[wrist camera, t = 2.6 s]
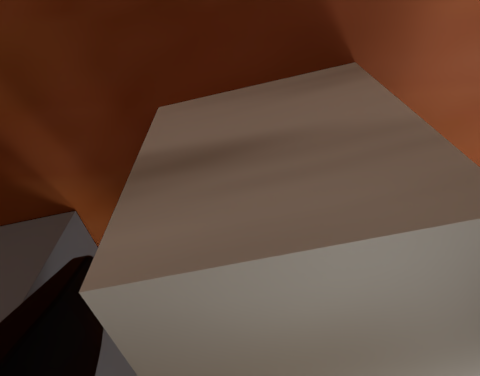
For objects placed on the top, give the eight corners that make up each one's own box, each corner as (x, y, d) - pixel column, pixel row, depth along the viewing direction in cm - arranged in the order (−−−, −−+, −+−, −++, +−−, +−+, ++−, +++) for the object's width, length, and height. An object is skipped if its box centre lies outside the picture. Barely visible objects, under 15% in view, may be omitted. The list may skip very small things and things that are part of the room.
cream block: (360, 218, 11) (466, 426, 6) (209, 247, 12) (198, 462, 7) (354, 61, 9) (529, 209, 4) (158, 106, 9) (78, 292, 4)
